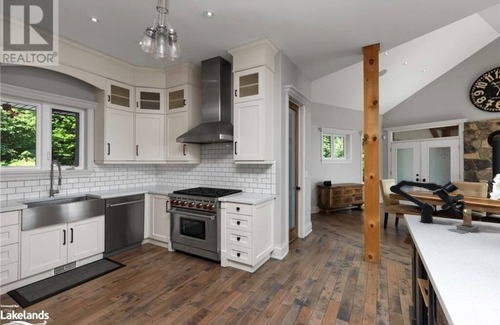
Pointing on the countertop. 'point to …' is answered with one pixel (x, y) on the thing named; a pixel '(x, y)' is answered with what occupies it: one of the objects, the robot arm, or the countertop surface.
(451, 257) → the countertop surface
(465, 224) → the hook peg
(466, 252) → the countertop surface
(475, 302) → the countertop surface
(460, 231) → the pad
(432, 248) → the countertop surface
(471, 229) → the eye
